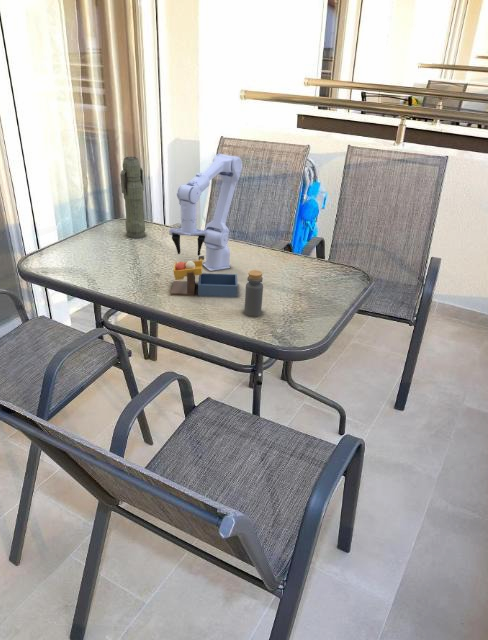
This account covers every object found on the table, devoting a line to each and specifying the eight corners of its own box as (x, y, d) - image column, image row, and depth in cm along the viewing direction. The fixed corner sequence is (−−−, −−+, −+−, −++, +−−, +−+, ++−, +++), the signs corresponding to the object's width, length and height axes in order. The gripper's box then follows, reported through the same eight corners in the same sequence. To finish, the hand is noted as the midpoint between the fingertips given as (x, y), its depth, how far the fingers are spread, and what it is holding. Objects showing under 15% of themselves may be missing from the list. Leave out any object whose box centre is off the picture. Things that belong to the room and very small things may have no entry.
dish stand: (171, 295, 186) (170, 272, 181) (173, 282, 195) (173, 261, 191) (193, 295, 186) (193, 273, 181) (195, 283, 196) (195, 262, 191)
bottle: (243, 309, 178) (245, 269, 170) (259, 309, 179) (263, 269, 171) (245, 316, 173) (247, 276, 165) (262, 316, 174) (265, 276, 166)
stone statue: (120, 236, 239) (113, 158, 220) (137, 230, 247) (132, 154, 229) (134, 240, 235) (129, 161, 216) (151, 234, 243) (147, 157, 225)
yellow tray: (175, 280, 184) (173, 270, 182) (178, 265, 197) (176, 255, 195) (203, 277, 184) (202, 267, 182) (204, 262, 197) (203, 252, 194)
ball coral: (184, 268, 189) (182, 259, 187) (187, 271, 186) (186, 262, 184) (175, 271, 188) (173, 262, 186) (178, 274, 185) (177, 265, 183)
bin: (198, 296, 186) (198, 284, 184) (199, 283, 196) (199, 272, 193) (237, 297, 187) (237, 286, 184) (236, 284, 196) (236, 274, 194)
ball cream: (194, 267, 189) (190, 258, 187) (198, 269, 186) (194, 260, 184) (186, 271, 188) (182, 262, 186) (189, 273, 185) (186, 264, 183)
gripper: (167, 220, 183) (168, 256, 191) (206, 223, 183) (206, 258, 190) (170, 215, 189) (171, 250, 197) (209, 217, 189) (208, 252, 196)
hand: (188, 253), depth 194 cm, fingers open, 7 cm apart
